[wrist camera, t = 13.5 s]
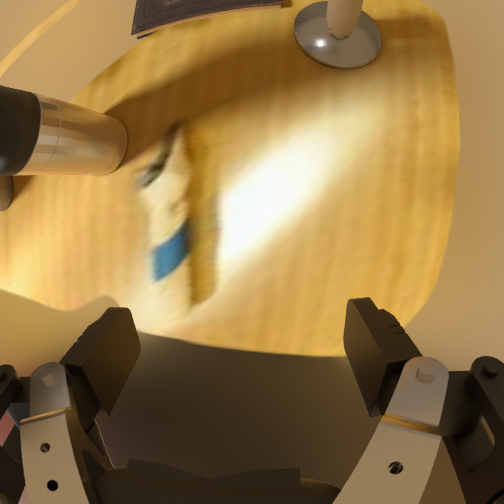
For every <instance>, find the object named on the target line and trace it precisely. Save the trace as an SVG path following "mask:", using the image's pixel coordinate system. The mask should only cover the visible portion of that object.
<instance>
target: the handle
mask: <svg viewBox="0 0 504 504" xmlns="http://www.w3.org/2000/svg"><path fill="white" fill-rule="evenodd" d="M362 3H363V0H328V4H327V24H328V32H329V34H330V35H334V36H336V37H337V38H338V39H343V38H344V37H347V36H348V37H349V36H350V35H351V34H352V32H353V31H352V30H353V29H354V28H355V26H356V24H357V22H358V20H359V17H360V14H361V9H362Z"/></svg>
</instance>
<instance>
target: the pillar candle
mask: <svg viewBox="0 0 504 504" xmlns="http://www.w3.org/2000/svg"><path fill="white" fill-rule="evenodd" d="M11 197H12V178H11V176H0V211H4V210H5V209H6V208H7V207H8V206H9V204H10V202H11Z"/></svg>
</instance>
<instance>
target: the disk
mask: <svg viewBox="0 0 504 504" xmlns="http://www.w3.org/2000/svg"><path fill="white" fill-rule="evenodd" d="M327 4H328V1H322V2H317V3H313V4H310V5H308V6H307V7H305V8H304V9H302V10H301V11H300V12H299V14H298V15H297V17H296V19H295V22H294V35H295V39H296V41H297V44H298V45H299V47H300V48H301V49H302V51H303V52H304V53H305V54H306V55H307V56H309V57H310V58H311V59H313V60H315V61H316V62H318V63H320V64H322V65H325V66H328V67H332V68H336V69H357V68H360V67H363V66H365V65H367V64H369V63H370V62H371V61H372V60H373V59H374V58H375V57H376V55H377V54H378V52H379V50H380V47H381V35H380V32H379V29H378V27H377V26H376V24H375V23H374V21H373V20H372V19H371V18H370V17H369V16H368V15H367V14H365V13H364V12H363V11H361V14H360V17H359V20H358V22H357V24H356V26H355V28H354V29H353V30H352V31H353V32H352V34H351V35H350V36H349V37H348V36H347V37H344V38H343V39H338V38H337V37H336V36H334V35H330V34H329V32H328V24H327Z"/></svg>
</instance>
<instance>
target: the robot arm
mask: <svg viewBox="0 0 504 504" xmlns="http://www.w3.org/2000/svg"><path fill="white" fill-rule="evenodd" d="M127 143H128V137H127V132H126V128H125V127H124V125H123V123H122V122H121V121H120V120H118V119H116V118H113V117H110V116H108V115H105V114H102V113H99V112H96V111H93V110H90V109H87V108H83V107H80V106H77V105H74V104H70V103H67V102H64V101H60V100H57V99H53V98H50V97H45V96H42V95H38V94H35V93H31V92H27V91H23V90H18V89H13V88H9V87H4V86H1V85H0V176H15V175H86V176H104V175H107V174H109V173H111V172H113V171H114V170H115V169H116V168H117V167H118V166H119V165H120V163H121V162H122V160H123V158H124V156H125V153H126V149H127ZM343 340H344V349H345V352H346V355H347V357H348V360H349V362H350V365H351V368H352V370H353V373H354V375H355V378H356V380H357V383H358V386H359V389H360V391H361V394H362V397H363V399H364V402H365V405H366V408H367V410H368V413H369V416H370V417H374V416H379V415H382V419H381V421H380V423H379V425H378V427H377V429H376V431H375V433H374V435H373V437H372V439H371V441H370V443H369V445H368V447H367V449H366V451H365V452H364V454H363V456H362V458H361V459H360V461H359V463H358V465H357V466H356V468H355V470H354V471H353V473H352V475H351V476H350V478H349V479H348V481H347V483H346V484H345V486H344V487H343V489H340V488H338V487H335V486H333V485H331V484H328V483H325V482H321V481H318V480H313V479H307V478H300V469H299V468H290V469H276V470H254V471H249V472H245V473H239V474H234V475H229V476H223V477H216V478H205V477H201V476H198V475H195V474H192V473H189V472H186V471H183V470H180V469H177V468H174V467H171V466H169V465H164V464H158V463H152V462H146V461H141V460H136V459H131V458H130V459H129V462H128V465H127V468H121V469H115V468H114V467H113V465H112V463H111V461H110V459H109V456H108V453H107V451H106V448H105V445H104V442H103V440H102V437H101V434H100V431H99V428H98V425H97V423H96V421H95V420H94V419H95V417H96V415H102V416H107V417H110V414H111V412H112V410H113V408H114V406H115V404H116V402H117V400H118V397H119V396H120V394H121V392H122V389H123V387H124V385H125V383H126V381H127V379H128V377H129V375H130V373H131V371H132V369H133V367H134V365H135V364H136V361H137V360H138V357H139V355H140V341H139V337H138V334H137V331H136V328H135V324H134V321H133V318H132V314H131V312H130V310H129V309H128V308H124V307H110V308H108V309H107V310H106V311H105V313H104V314H103V315H102V316H101V317H100V319H98V320H97V321H95V322H94V323H92V324H91V325H89V326H88V327H87V329H86V330H85V331H84V332H83V333H82V336H80V337H79V338H78V340H77V342H75V343H74V344H73V346H72V347H71V348H70V349H69V351H68V352H67V353H66V354H65V356H64V357H63V358H62V360H61V361H60V362H59V363H56V362H51V363H46V364H43V365H41V366H40V367H38V368H37V369H36V370H35V371H34V372H33V373H32V375H31V377H19V376H18V374H17V373H16V371H15V369H14V367H13V366H11V365H1V366H0V420H1V418H2V416H3V415H4V413H5V412H7V414H8V415H9V416H10V418H11V419H12V420H13V422H14V423H15V425H14V427H13V428H12V430H11V432H10V434H9V435H8V437H7V439H6V441H5V443H4V445H3V446H2V447H1V446H0V504H18V503H19V500H20V497H21V495H22V492H23V490H24V487H25V485H26V488H27V494H28V499H29V503H30V504H418V503H419V501H420V498H421V496H422V493H423V491H424V488H425V486H426V483H427V480H428V478H429V475H430V472H431V469H432V467H433V463H434V460H435V457H436V454H437V451H438V447H439V444H440V440H441V437H442V439H443V441H444V444H445V446H446V448H447V451H448V453H449V456H450V458H451V461H452V464H453V466H454V469H455V472H456V475H457V478H458V480H459V483H460V486H461V489H462V492H463V495H464V498H465V502H466V504H504V363H502V362H501V361H500V360H498V359H496V358H494V357H490V356H482V357H479V358H477V359H476V360H475V361H474V362H473V364H472V366H471V368H470V370H469V371H448V370H447V368H446V367H445V365H444V364H443V363H441V362H440V361H438V360H436V359H434V358H431V357H424V356H422V354H421V353H420V351H419V350H418V349H417V347H416V346H415V344H414V343H413V341H412V340H411V339H410V337H409V336H408V334H407V333H405V330H404V329H403V327H402V326H400V323H399V322H398V321H397V319H396V318H395V317H394V315H392V314H390V313H389V312H387V311H386V310H384V309H380V310H378V308H377V307H376V306H375V304H374V303H373V301H372V300H371V299H370V298H369V297H365V298H356V299H349V300H348V303H347V310H346V319H345V328H344V337H343ZM484 418H485V420H486V422H487V424H488V426H489V428H490V430H491V431H492V433H493V435H494V439H495V444H494V446H493V444H492V442H491V440H490V438H489V436H488V434H487V432H486V430H485V428H484V426H483V425H482V423H481V422H482V421H483V420H484Z"/></svg>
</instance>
